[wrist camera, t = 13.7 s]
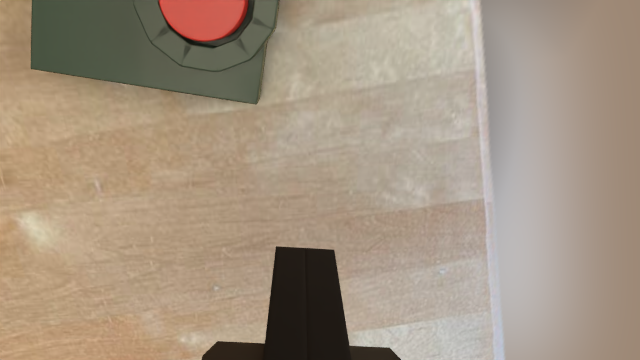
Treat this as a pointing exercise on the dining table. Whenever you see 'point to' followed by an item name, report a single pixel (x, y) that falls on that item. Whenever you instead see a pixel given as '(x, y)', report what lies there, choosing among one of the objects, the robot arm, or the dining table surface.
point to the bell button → (204, 17)
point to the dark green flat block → (150, 47)
